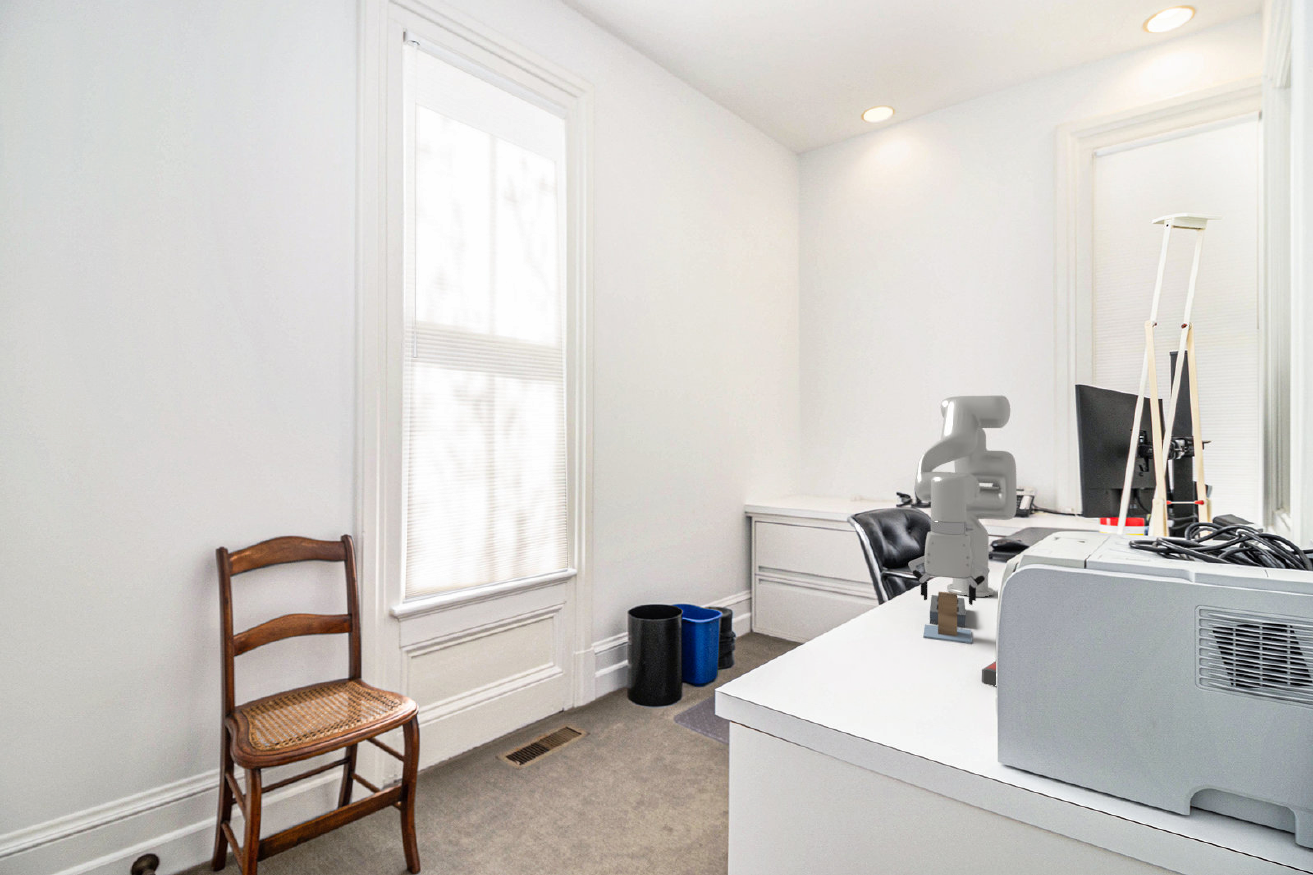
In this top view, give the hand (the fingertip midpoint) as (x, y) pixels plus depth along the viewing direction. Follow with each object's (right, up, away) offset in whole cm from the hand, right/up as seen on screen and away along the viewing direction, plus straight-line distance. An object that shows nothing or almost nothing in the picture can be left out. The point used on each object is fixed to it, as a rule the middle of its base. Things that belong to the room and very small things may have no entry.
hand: (947, 601), depth 151 cm
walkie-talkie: (+2, -8, -27) cm, 28 cm away
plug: (0, -7, 0) cm, 7 cm away
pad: (0, -8, 0) cm, 8 cm away
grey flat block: (+7, -8, +15) cm, 18 cm away
